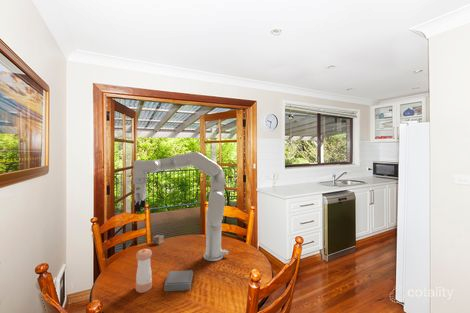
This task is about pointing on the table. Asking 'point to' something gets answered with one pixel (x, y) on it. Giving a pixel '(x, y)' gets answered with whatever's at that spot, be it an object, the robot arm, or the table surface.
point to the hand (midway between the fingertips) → (140, 209)
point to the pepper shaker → (143, 271)
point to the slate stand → (178, 280)
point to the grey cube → (158, 239)
